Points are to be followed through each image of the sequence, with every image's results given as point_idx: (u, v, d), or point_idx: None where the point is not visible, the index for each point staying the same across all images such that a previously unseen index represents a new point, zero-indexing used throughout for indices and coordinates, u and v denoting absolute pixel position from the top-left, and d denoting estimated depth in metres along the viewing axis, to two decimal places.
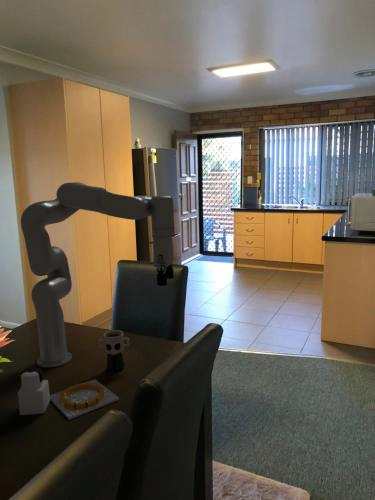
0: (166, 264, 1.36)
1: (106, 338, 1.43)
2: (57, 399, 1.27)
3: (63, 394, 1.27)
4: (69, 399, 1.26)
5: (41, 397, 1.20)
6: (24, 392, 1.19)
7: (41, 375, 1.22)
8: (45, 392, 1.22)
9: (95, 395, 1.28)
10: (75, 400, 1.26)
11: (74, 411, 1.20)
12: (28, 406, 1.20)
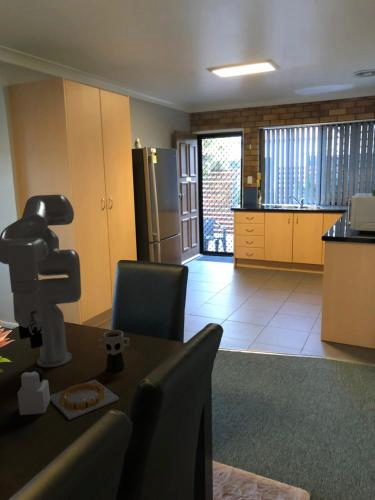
0: None
1: (106, 338, 1.43)
2: (57, 399, 1.27)
3: (63, 394, 1.27)
4: (69, 399, 1.26)
5: (41, 397, 1.20)
6: (24, 392, 1.19)
7: (41, 375, 1.22)
8: (45, 392, 1.22)
9: (95, 395, 1.28)
10: (75, 400, 1.26)
11: (74, 411, 1.20)
12: (28, 406, 1.20)
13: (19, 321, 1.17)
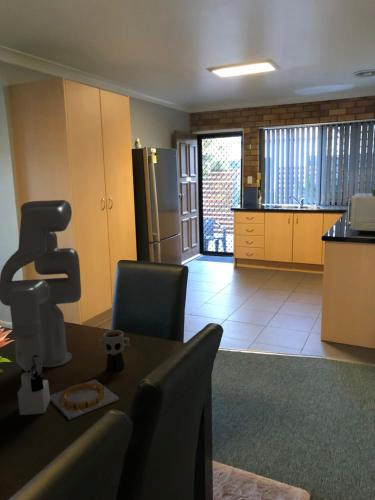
0: (41, 364, 1.19)
1: (106, 338, 1.43)
2: (57, 399, 1.27)
3: (63, 394, 1.27)
4: (69, 399, 1.26)
5: (41, 397, 1.20)
6: (24, 392, 1.19)
7: None
8: (45, 392, 1.22)
9: (95, 395, 1.28)
10: (75, 400, 1.26)
11: (74, 411, 1.20)
12: (28, 406, 1.20)
13: (21, 364, 1.19)
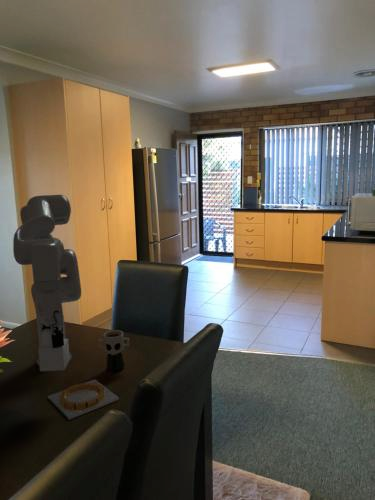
0: (62, 320, 1.18)
1: (106, 338, 1.43)
2: (57, 399, 1.27)
3: (63, 394, 1.27)
4: (69, 399, 1.26)
5: (61, 353, 1.19)
6: (45, 348, 1.19)
7: None
8: (65, 350, 1.22)
9: (95, 395, 1.28)
10: (75, 400, 1.26)
11: (74, 411, 1.20)
12: (48, 362, 1.20)
13: (42, 320, 1.19)
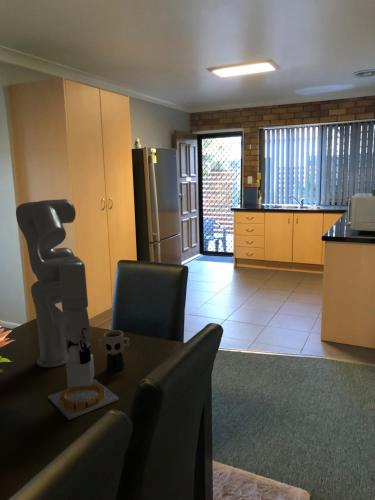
0: None
1: (106, 338, 1.43)
2: (57, 399, 1.27)
3: (63, 394, 1.27)
4: (69, 399, 1.26)
5: (88, 369, 1.23)
6: (72, 364, 1.22)
7: None
8: (91, 365, 1.26)
9: (95, 395, 1.28)
10: (75, 400, 1.26)
11: (74, 411, 1.20)
12: (75, 378, 1.23)
13: (69, 337, 1.22)
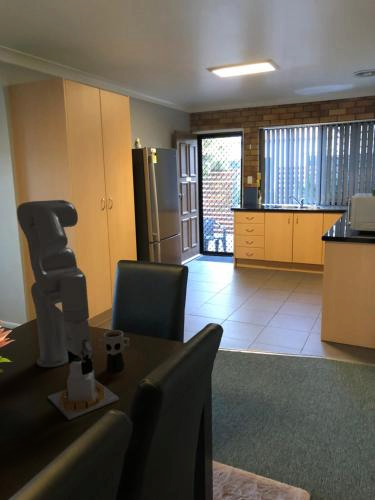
0: None
1: (106, 338, 1.43)
2: (57, 399, 1.27)
3: (63, 394, 1.27)
4: None
5: (89, 385, 1.24)
6: (73, 380, 1.23)
7: None
8: (92, 381, 1.27)
9: (95, 395, 1.28)
10: None
11: (74, 411, 1.20)
12: (76, 394, 1.24)
13: (70, 348, 1.23)
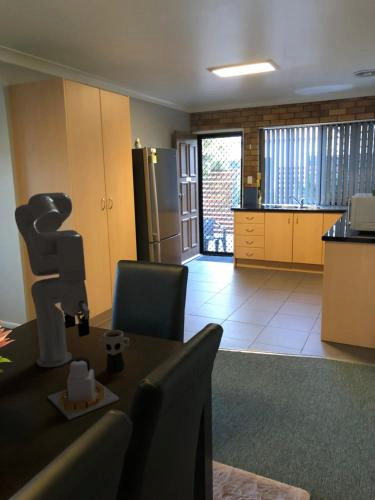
0: None
1: (106, 338, 1.43)
2: (57, 399, 1.27)
3: (63, 394, 1.27)
4: None
5: (89, 385, 1.24)
6: (73, 380, 1.23)
7: (88, 364, 1.26)
8: (92, 381, 1.27)
9: (95, 395, 1.28)
10: None
11: (74, 411, 1.20)
12: (76, 394, 1.24)
13: (67, 310, 1.21)
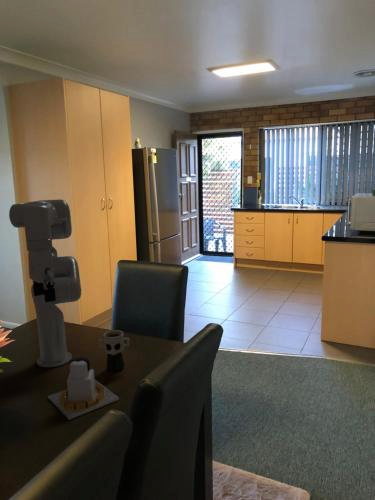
0: None
1: (106, 338, 1.43)
2: (57, 399, 1.27)
3: (63, 394, 1.27)
4: None
5: (89, 385, 1.24)
6: (73, 380, 1.23)
7: (88, 364, 1.26)
8: (92, 381, 1.27)
9: (95, 395, 1.28)
10: None
11: (74, 411, 1.20)
12: (76, 394, 1.24)
13: (34, 277, 1.27)
